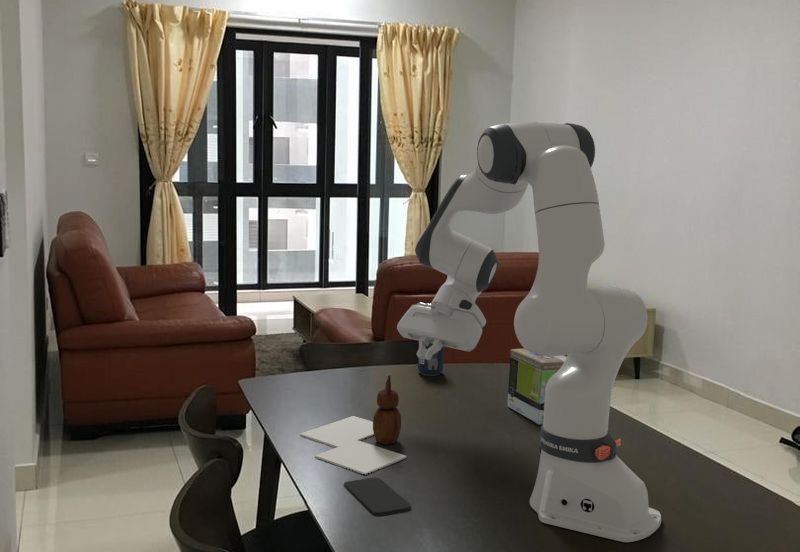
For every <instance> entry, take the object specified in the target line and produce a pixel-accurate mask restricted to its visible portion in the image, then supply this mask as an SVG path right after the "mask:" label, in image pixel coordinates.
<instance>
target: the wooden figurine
mask: <svg viewBox="0 0 800 552" xmlns="http://www.w3.org/2000/svg"><path fill="white" fill-rule="evenodd" d="M391 382H392V380H391V375H387V378H386V381H385V388H384V389H381V390H379V392H378V393H377V396H376V405H377V406H378V408H377V409H376V410H375V412H374V414H373V417H372V418H373V419H372V422H373V432H374V436H373V437H374V438H375V440H376V442H377V443H379V444H381V445H382V444H383V445H391V444H392V445H393V444H394V443H396V442H397V441H398V440H399V437H400V433H401V430H402V414H401V410H400V409H399V408H398V406H399V401H400V399H399V393H398V392H397V391H396V390H393V389H392V383H391Z"/></svg>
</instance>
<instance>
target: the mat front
mask: <svg viewBox="0 0 800 552" xmlns="http://www.w3.org/2000/svg"><path fill="white" fill-rule="evenodd" d="M373 435H374V432H373V420H372V421H371V420H369V419H365V418H361V417H358V416H354V415H351V416H349V417H346V418H342V419H339V420H337V421H334V422H331V423H328V424H324V425H321V426H319V427H316V428H313V429H310V430H307V431H304V432H301V433H299V436H301V437H303V438H306V439H309V440H312V441H315V442H318V443H321V444H325V445H327V446H331V447H332V448H337V447H339V446H342V445H345V444H347V443H350V442H353V441H356V440H358V441H363V440H366V439H368V438H371V437H374V436H373ZM365 438H366V439H365Z"/></svg>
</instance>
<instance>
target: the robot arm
mask: <svg viewBox="0 0 800 552" xmlns="http://www.w3.org/2000/svg"><path fill="white" fill-rule="evenodd" d="M476 156H477V157H476V159H477V163H476V165H475V168H474V170H473V171H472V172H470V173H469V174H461V175H460V176H458V177H457V178H456V180H455V181H453V183H452V184H451V186H450V187H449V189H448V191H447V193H446V194H445V196H444V197H443V199H442V200H441V202H440V204H439V206H438V207H437V210H436V211H435V213H434V214H433V216H432V218H431V220H430V221H429V223H428V225H427V226H426V227H425V228H424V230H423V231H421V233H420V235H419V237H418V238H417V240H416V244H415V249H414V252H415V255H416V258H417V261H418V262H419V264H421V265H422V266H425V267H427V268H430V269H433V270H436V271H438V272H440V273H442V274H444V275H446V276H447V278H446V279H445V282H444V283H443V284H442V285H441V286H440V287H439V289H438V291H437V292H436V293H435V295H434V298H433V299H432V300H431V303H424V302H421V301H419V302H418V303H415V304H411V306H410V307H409V309H407V311H406V312H405V313H404V314H403V316H402V317H401V319H399V321H398V323H397V325H396V329H397V331H398V332H399V333H398V334H400V335H401V336H402V338H405V339H409V340H414V341H418V348H419V350H417V351H416V356H417V358H418V357H419V358H422V359H427V360H430V359H431V357H432V356H433V354H435V353H436V352H438V351H439V350H441V348H442V347H443V346H444V347H446V348H451V349H454V350H455V349H456V350H460V351H464V352H471V351H474V349H475V348H476V347H477V345H478V343H479V341H480V339H481V337H482V334H483V328H484V327H485V325H486V324H487V319H486V318H485V316H484V313H483V312H482V311H481V309H480V307H479V306H478V305H477V304H476V300H477V299H478V297H479V296H480V295H481V294H482V292H484V291H486V290H487V289H488V288H489V286H490V284H491V282H492V281H493V280H494V279H493V278H494V277H495V275H496V274H497V272H498V267H499V261H498V257H497V254H496V253H495V250H494V249H492V248H490V247H489V246H487V245H486V244H483V243H481V242H480V241H478V240H475V239H473V238H471V237H468V236H466V235H464V234H462V233H460V232H458V231H456V230H454V229H453V228H452V227H451V226H450V224H451V222H452V221H453V219H454V218H455V216H456V215H457V213H458V212H461V211H462V212H463V211H469V212H477V213H482V214H487V215H494V214H495V215H496V214H502V213H505V212H508V211H511V210H512V209H514V208H515V207H516V206H518V204H519V203H520V201H521V200H522V199H523V196H524V195H525V192H526V190H527V189H528V186H529V185H530V186H531V188H532V198H533V208H534V217H535V223H536V224H535V225H536V227H535V228H536V235H537V245H538V247H537V248H538V265H537V270H536V273H535V278H534V281H533V284H532V286H531V288H530V291H529V292H528V294H527V295H526V296H525V297H524V298H523V300H522V301H521V302H520V303H519V304H518V306H517V308H516V310H515V313H514V314H515V315H514V319H513V326H514V328H513V329H514V332H515V336H516V339H517V340H518V342H519V344H520V345H521V346H522V347H523V348H524V349H526V350H527V351H528V352H530V353H534V354H540V355H548V356H562V355H564V356H567V358H566V360H565V362H564V364H563V365H562V367H561V368H560V369H559V370H558V371H557V372H556V373H555V374H554V375H553V376H552V377H551V378H550V379H549V381H548V382H547V385H546V389H545V404H544V421H543V424H541V426H540V432H539V434H540V435H539V449H538V450H539V454H540V459H539V462H538V463H539V465H538V470H537V475H536V479H535V483H534V487H533V490H532V493H531V496H530V498H529V505H530V507H531V508H532V510H534V511H535V512H536V513H537V515H538V519H539V522H541V523H543V524H547V525H551V526H554V527H559V528H564V529H567V530H572V531H576V532H580V533H584V534H588V535H591V536H592V535H593V536H597V537H601V538H605V539H610V540H613V541H616V542H617V541H618V542H621V543H632V542H639V541H641V540H643V539H646V538H648V537H650V536H651V535H652V534H654V533H655V532H656V531H657V530H658V529H659V528H660V526H661V524H662V514H661V512H660V511H659V510H656V509H655V508H652V507H649V506H650V504H649V503H650V502H649V495H648V493H649V492H648V489H647V486H646V484H645V482H644V480H642V479H641V478H639V476H637V474H636V473H635V472H634V471H632V469H631V468H629V467H628V466H627V464H625V462H624V461H622V459H620V457H619V456H618V455H617V448H618V447H620V446H621V445H622V444H621V441H622V438H618V439H616V440H614V438H613V437H612V435H611V433H610V431H609V419H610V410H611V409H610V408H611V400H612V399H611V398H612V392H613V389H614V388H613V387H614V384H615V381H616V377H617V375H618V372H619V370H620V368H621V366H622V364H623V361H624V360H625V357H626V356H627V355H628V352H630V349H631V348H632V347H633V346H634V345H635V344H636V343H637V342H638V341H639V340H640V339H641V338H642V337H643V336H644V334H645V332H646V330H647V327H648V310H647V308H646V304H645V303H644V300H643V299H642V298H641V296H640V295H639V294H637V293H636V292H634V291H632V290H630V289H627V288H626V289H625V288H621V287H614V286H597V287H588V277H589V273H590V270H591V267H592V265H593V263H595V262H596V261H597V260H598V259H599V258H601V256H602V254H603V252H604V249H605V246H606V245H605V236H604V229H603V222H602V216H601V215H602V214H601V209H600V202H599V196H598V190H597V186H596V182H595V178H594V175H593V171H592V167H593V164H594V161H595V157H596V145H595V141H594V138H593V136H592V134H591V132H590V131H589V129H588V128H586V127H585V126H583V125H579V124H577V123H571V122H566V123H556V122H555V123H554V122H538V121H525V122H518V123H517V122H516V123H512V122H511V123H510V122H509V123H500V124H495V125H492V126H489V127H487V128H486V129H484V131H483V132H482V134H481V135H480V137H479V140H478V142H477V147H476ZM429 343H432V344H433V345H432V346H431V347H430V348H429V349H425V347H426V346H428V345H429ZM523 348H522V349H523Z"/></svg>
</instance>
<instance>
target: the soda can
mask: <svg viewBox="0 0 800 552" xmlns="http://www.w3.org/2000/svg"><path fill="white" fill-rule="evenodd" d="M432 345H433V344H432V343H429V345H428V346H426V347H425V349H429V348H430V347H431V346H432ZM444 347H445V346H443V347H442V348H441V350H439V351H438V352H436V353H435V354H433V356H432V357H431V359H430V360H427V359H422V358H419V357H418V356H417V369H418V372H419V374H421V375H423V376H425V377H427V376H429V377H434V376H440V374H441V373H442V372H443V369H444V349H445V348H444ZM417 349H418V350H419V347H418V348H417ZM418 350H417V351H418Z"/></svg>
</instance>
